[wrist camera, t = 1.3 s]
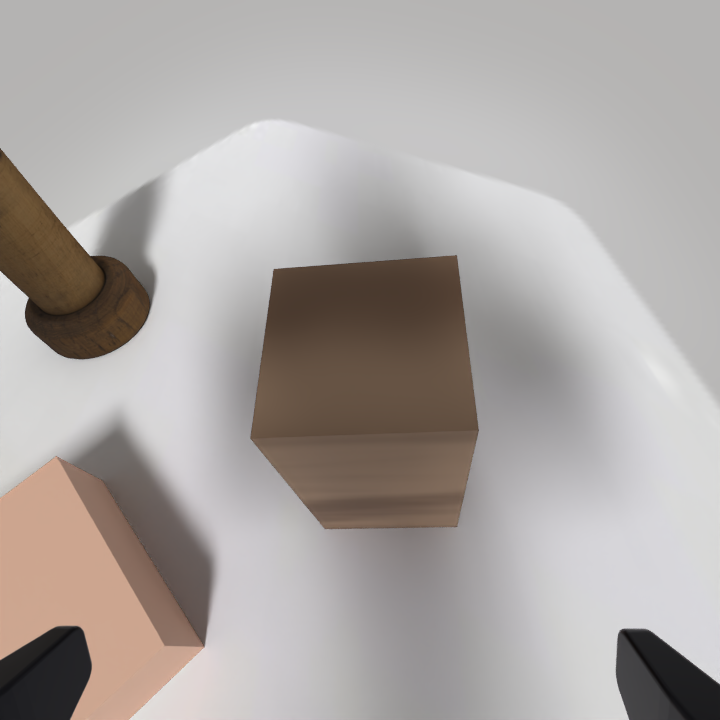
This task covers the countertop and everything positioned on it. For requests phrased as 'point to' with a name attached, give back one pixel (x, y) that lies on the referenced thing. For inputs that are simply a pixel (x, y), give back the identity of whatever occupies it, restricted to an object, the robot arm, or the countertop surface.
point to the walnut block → (369, 392)
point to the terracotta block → (88, 589)
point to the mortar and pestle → (64, 277)
